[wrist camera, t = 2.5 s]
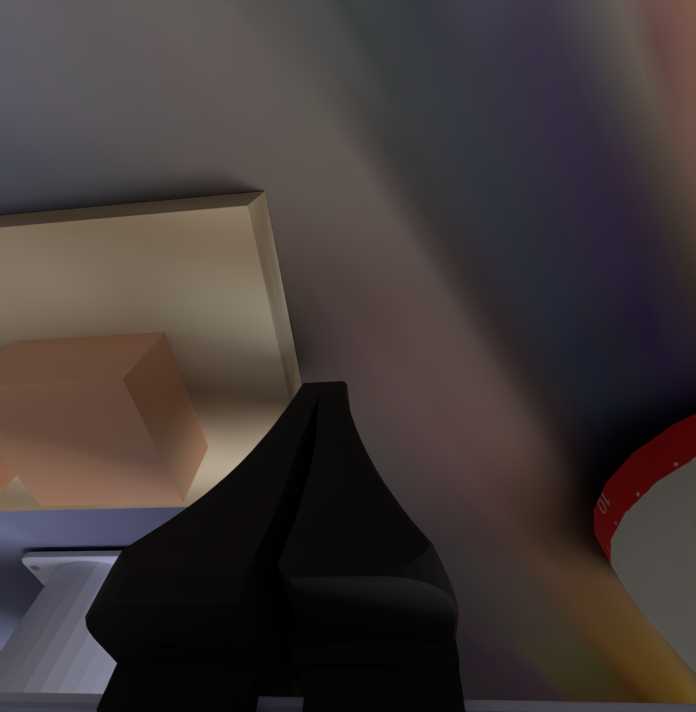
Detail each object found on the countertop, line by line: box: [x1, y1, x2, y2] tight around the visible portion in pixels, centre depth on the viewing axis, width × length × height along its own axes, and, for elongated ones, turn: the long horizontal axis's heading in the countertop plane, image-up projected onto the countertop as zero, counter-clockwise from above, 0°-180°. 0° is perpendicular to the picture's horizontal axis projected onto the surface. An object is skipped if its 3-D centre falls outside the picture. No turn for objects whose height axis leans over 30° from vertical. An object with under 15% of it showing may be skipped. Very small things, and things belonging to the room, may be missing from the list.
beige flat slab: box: [0, 191, 302, 511], centre depth 15 cm, size 12×20×2 cm, turn 95°
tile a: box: [0, 332, 209, 506], centre depth 13 cm, size 5×5×2 cm
